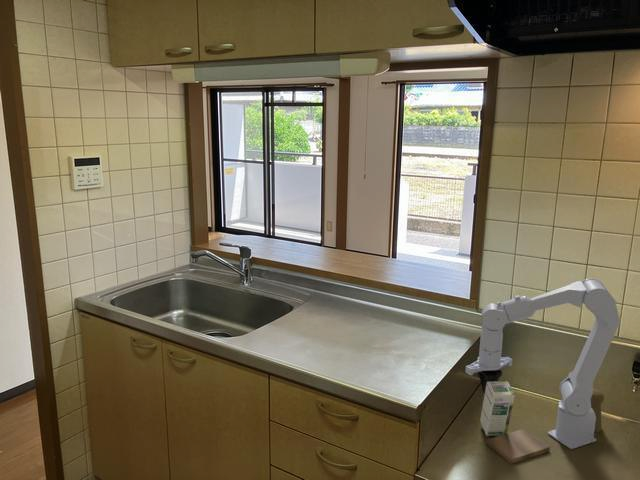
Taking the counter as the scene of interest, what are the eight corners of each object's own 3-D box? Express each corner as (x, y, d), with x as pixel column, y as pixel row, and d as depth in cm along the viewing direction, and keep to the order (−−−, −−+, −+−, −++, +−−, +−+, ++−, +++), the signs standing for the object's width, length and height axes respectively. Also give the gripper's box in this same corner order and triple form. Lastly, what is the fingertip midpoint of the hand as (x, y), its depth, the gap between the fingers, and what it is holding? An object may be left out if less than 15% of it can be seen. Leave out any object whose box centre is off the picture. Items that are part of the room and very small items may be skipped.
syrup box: (486, 436, 142) (494, 395, 136) (479, 420, 147) (487, 380, 141) (506, 436, 142) (515, 395, 136) (499, 420, 148) (507, 379, 141)
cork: (572, 421, 150) (577, 386, 147) (591, 419, 151) (596, 384, 148) (587, 433, 144) (591, 397, 141) (606, 431, 145) (611, 395, 142)
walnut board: (523, 432, 144) (523, 428, 144) (549, 451, 136) (549, 446, 136) (486, 443, 139) (486, 439, 139) (510, 463, 131) (511, 459, 131)
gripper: (501, 337, 149) (497, 381, 152) (459, 346, 143) (456, 391, 146) (519, 347, 142) (515, 392, 145) (476, 357, 137) (473, 403, 140)
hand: (487, 393), depth 145 cm, fingers closed
